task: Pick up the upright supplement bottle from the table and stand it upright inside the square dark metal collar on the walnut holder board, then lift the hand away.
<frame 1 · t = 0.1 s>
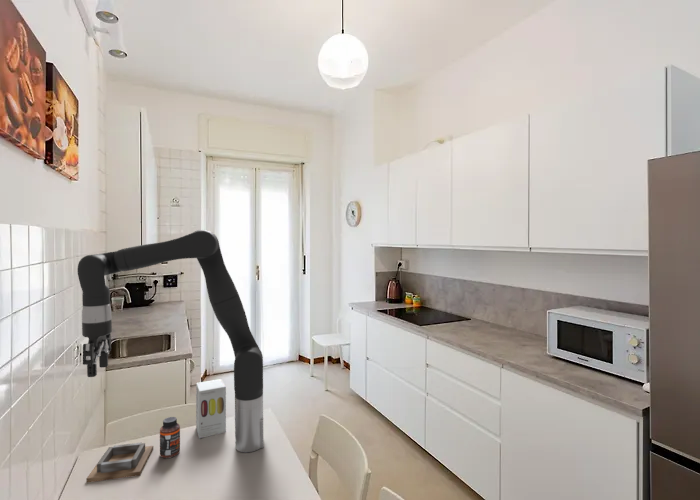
hand: (98, 371, 114), 29 cm above the table, tool pointing down, fingers open, 8 cm apart
supplement box: (210, 430, 136), on the table
supplement bottle: (170, 454, 121), on the table
collar holder: (122, 464, 115), on the table
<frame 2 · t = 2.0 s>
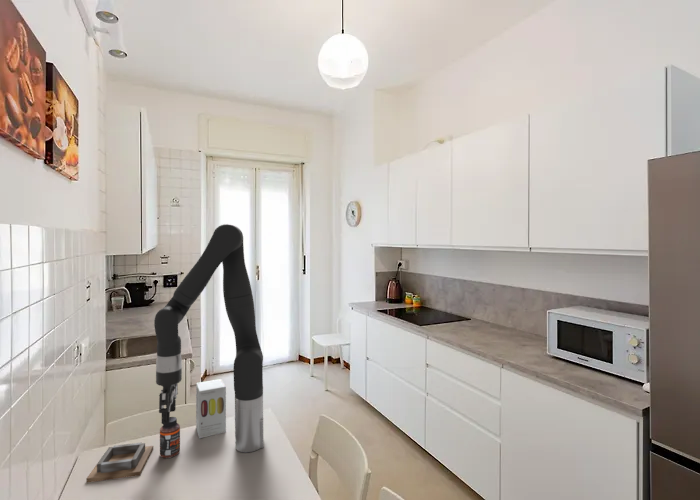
hand: (168, 417, 121), 12 cm above the table, tool pointing down, fingers open, 8 cm apart
nothing on the table moved.
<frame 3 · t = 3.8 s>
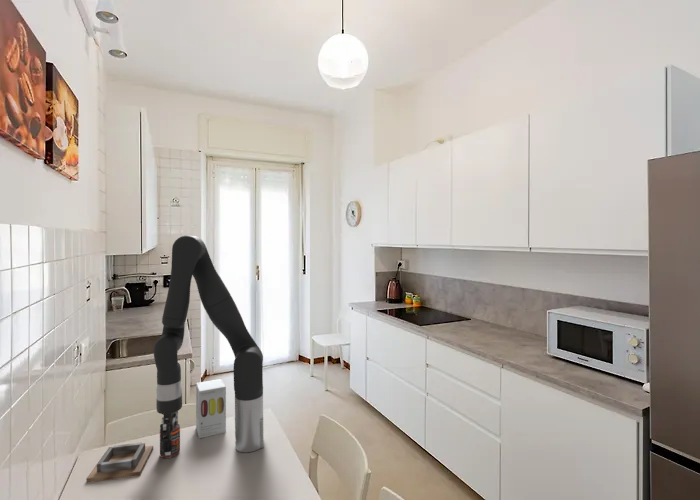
hand: (170, 445, 121), 3 cm above the table, tool pointing down, fingers closed on supplement bottle, 6 cm apart
supplement bottle: (170, 454, 121), on the table, touching gripper
everything else where it was.
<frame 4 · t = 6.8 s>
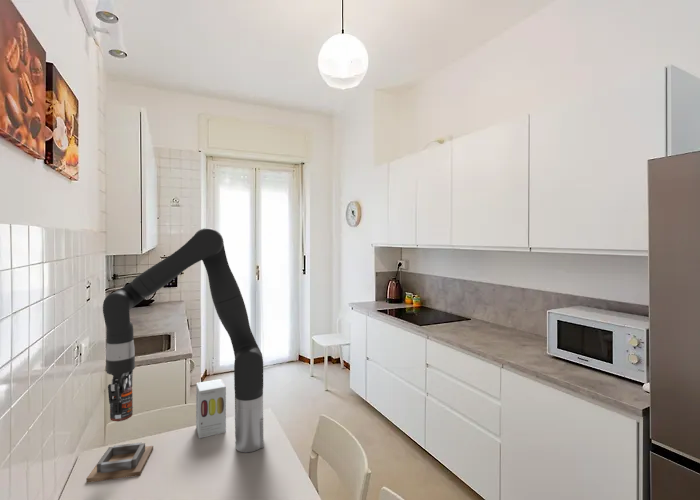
hand: (121, 409, 115), 17 cm above the table, tool pointing down, fingers closed on supplement bottle, 6 cm apart
supplement bottle: (121, 418, 115), point 15 cm above the table, touching gripper
everything else where it was.
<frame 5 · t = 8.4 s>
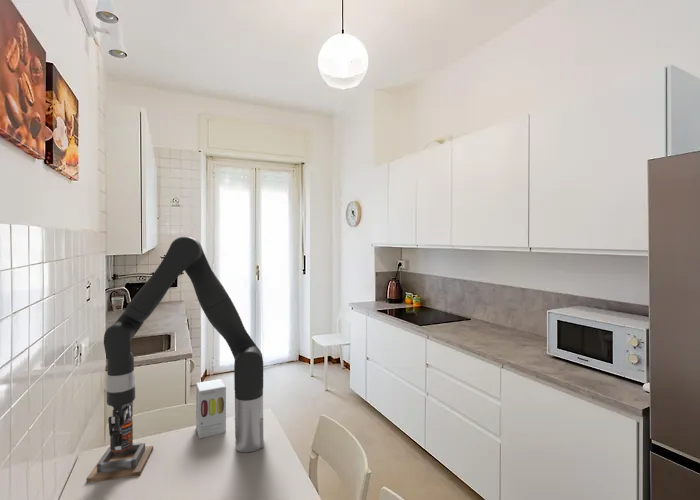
hand: (121, 439, 115), 8 cm above the table, tool pointing down, fingers closed on supplement bottle, 6 cm apart
supplement bottle: (121, 448, 115), point 5 cm above the table, touching gripper
everything else where it was.
when the fingers open (5 cm above the table, at t = 9.9 s): supplement bottle drops 1 cm, resting on collar holder.
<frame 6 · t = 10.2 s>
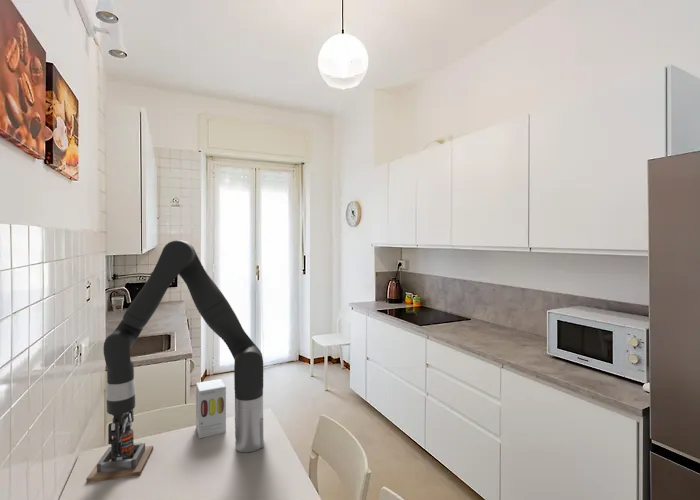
hand: (122, 446, 115), 6 cm above the table, tool pointing down, fingers open, 8 cm apart
supplement bottle: (122, 461, 115), point 1 cm above the table, touching collar holder
everything else where it was.
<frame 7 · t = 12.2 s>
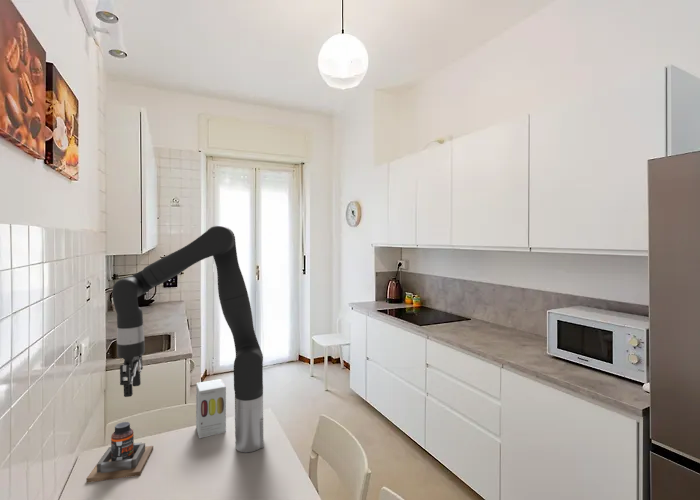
hand: (132, 390, 118), 22 cm above the table, tool pointing down, fingers open, 8 cm apart
nothing on the table moved.
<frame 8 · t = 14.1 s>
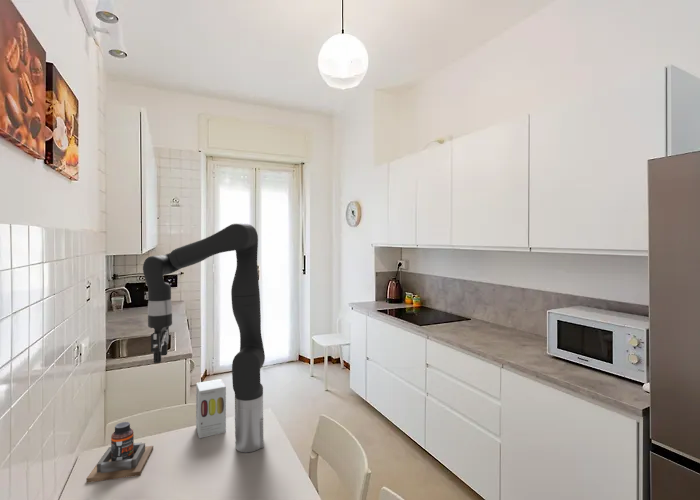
hand: (160, 358, 130), 28 cm above the table, tool pointing down, fingers open, 8 cm apart
nothing on the table moved.
at the end: supplement bottle 0.1 cm off-centre on the collar holder, point 1.0 cm above the collar holder's base; supplement bottle tilted 0°; the gripper is holding nothing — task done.
